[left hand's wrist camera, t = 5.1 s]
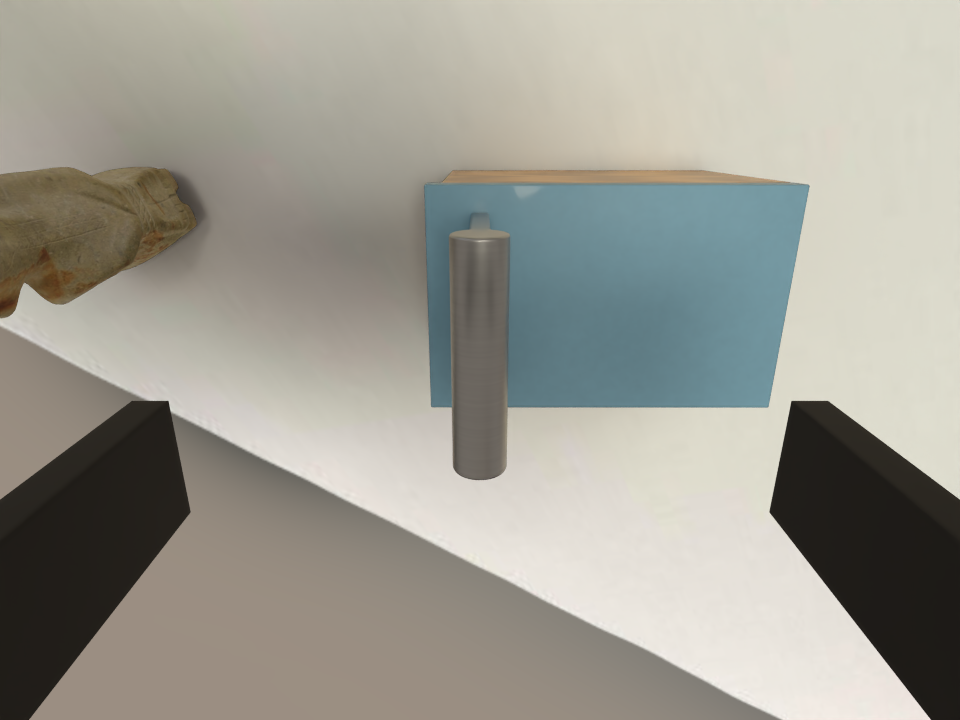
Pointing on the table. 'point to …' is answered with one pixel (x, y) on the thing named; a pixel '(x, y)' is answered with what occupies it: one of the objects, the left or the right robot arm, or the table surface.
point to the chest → (596, 177)
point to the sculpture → (82, 228)
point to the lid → (602, 299)
